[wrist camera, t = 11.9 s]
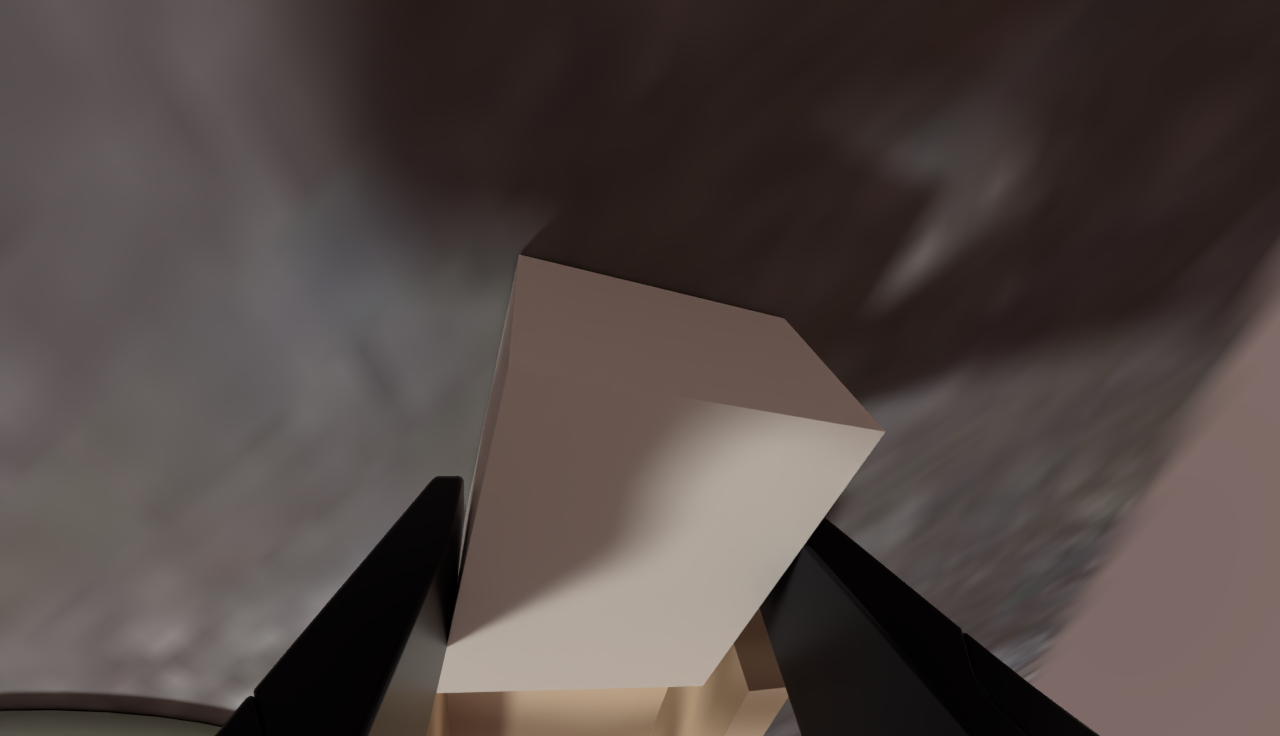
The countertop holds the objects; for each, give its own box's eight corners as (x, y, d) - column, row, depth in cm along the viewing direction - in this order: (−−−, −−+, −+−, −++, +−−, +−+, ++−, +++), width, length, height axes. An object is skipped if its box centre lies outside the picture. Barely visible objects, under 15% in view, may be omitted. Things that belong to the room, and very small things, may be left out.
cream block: (518, 254, 7) (507, 366, 5) (783, 318, 8) (886, 431, 6) (461, 531, 10) (436, 693, 7) (667, 545, 11) (702, 686, 9)
